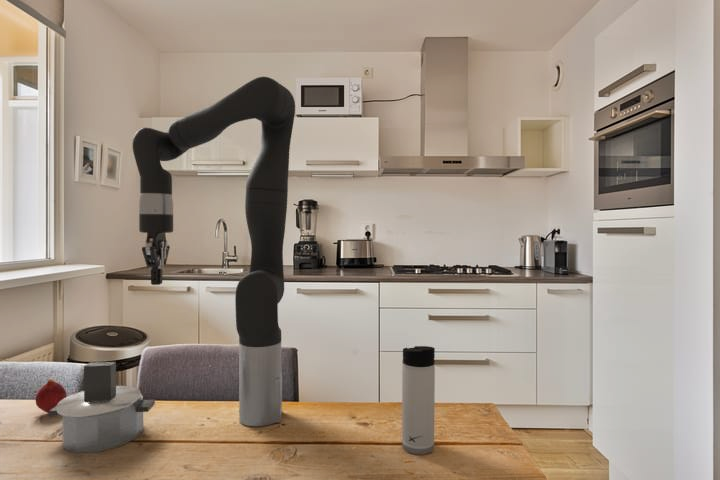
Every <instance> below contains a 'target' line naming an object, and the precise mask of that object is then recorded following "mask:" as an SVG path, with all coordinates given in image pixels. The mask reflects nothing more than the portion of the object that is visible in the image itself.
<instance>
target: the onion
mask: <svg viewBox="0 0 720 480" xmlns="http://www.w3.org/2000/svg"><path fill="white" fill-rule="evenodd" d="M66 397H68V396H67V391H66V389H65V388H64V386H63V385H62V384H61V383H59V382H56V381H55V380H53V378H48V379H47V382H46V383H45V384H44V385H43V386H42V387H41V388H40V389H39V390H38V391H37V393H36V395H35V405H36V406H37V407H38V408H39V409H40V410H41V411H43V412H45V413H47V414H49V413H50V410H51V409H53V408H54V407H56V406H57V404H58V403H59V402H60V401H61V400H62V399H64V398H66Z"/></svg>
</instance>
